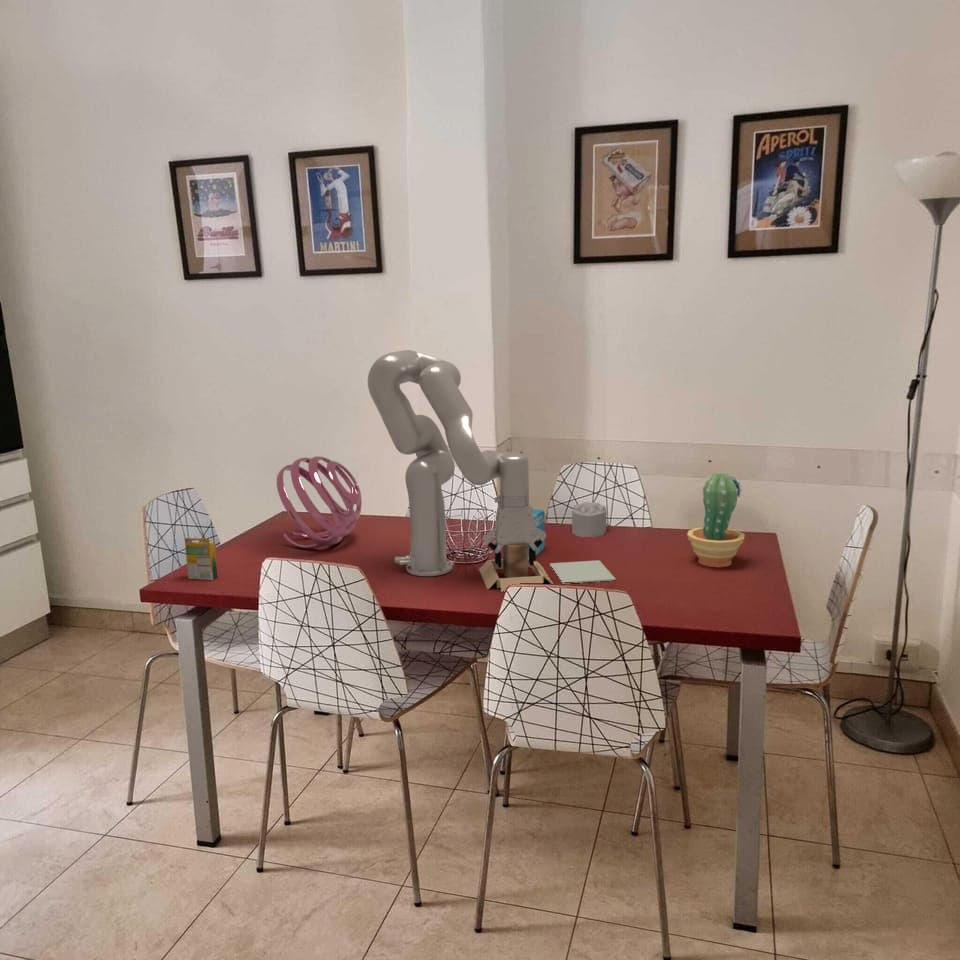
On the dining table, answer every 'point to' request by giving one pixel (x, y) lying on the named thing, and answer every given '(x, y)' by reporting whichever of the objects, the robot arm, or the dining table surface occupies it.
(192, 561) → the crayon box
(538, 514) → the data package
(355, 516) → the spiral basket
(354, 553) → the dining table surface
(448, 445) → the robot arm
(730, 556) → the potted cactus
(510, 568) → the walnut box
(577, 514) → the lumpy-topped squat cylinder
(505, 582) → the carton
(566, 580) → the plate
